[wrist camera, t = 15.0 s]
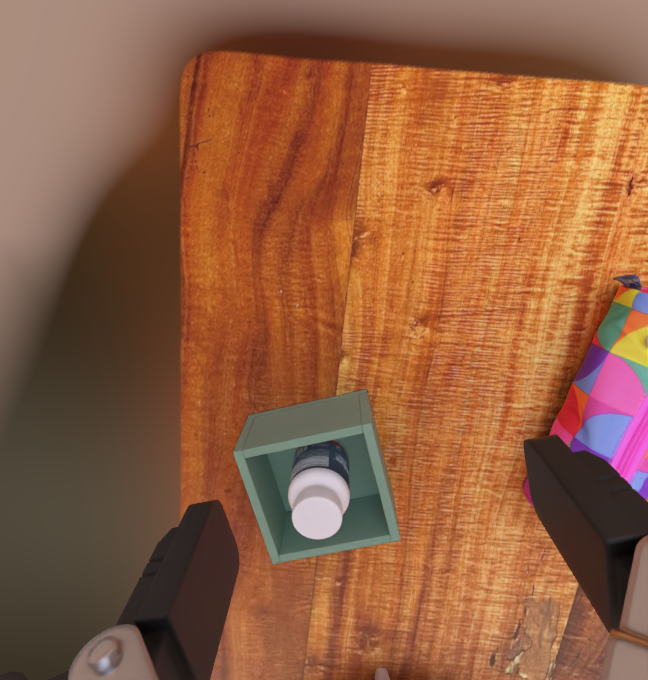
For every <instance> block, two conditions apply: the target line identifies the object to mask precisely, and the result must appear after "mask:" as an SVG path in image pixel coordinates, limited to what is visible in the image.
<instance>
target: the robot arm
mask: <svg viewBox="0 0 648 680" xmlns="http://www.w3.org/2000/svg"><path fill="white" fill-rule="evenodd" d="M524 453H525V460H526V468H527V475H528V483H529V490H530V496H531V500H532V503H533V506H534V509H535V511H536V513H537V515H538V517H539V519H540V521H541V522H542V524H543V526H544V527H545V529H546V531H547V532H548V534H549V536H550V537H551V539H552V540H553V542H554V544H555V545H556V547H557V549H558V550H559V552H560V553H561V555H562V557H563V558H564V560H565V562H566V563H567V565H568V567H569V568H570V570H571V571H572V573H573V575H574V576H575V578H576V580H577V581H578V583H579V584H580V586H581V588H582V589H583V591H584V593H585V594H586V596H587V598H588V599H589V601H590V602H591V604H592V606H593V607H594V609H595V611H596V612H597V614H598V616H599V617H600V619H601V620H602V622H603V624H604V625H605V627H606V629H607V630H608V632H609V633H610V635H609V638H608V642H607V647H606V651H605V656H604V660H603V665H602V669H601V674H600V678H599V680H648V502H647V501H646V500H645V499H644V498H643V497H642V496H641V495H640V494H639V493H638V492H637V491H636V490H635V489H632V486H631V485H630V484H629V483H628V482H627V481H626V480H625V479H624V478H623V477H621V476H620V474H619V473H618V472H617V471H616V470H615V469H614V468H613V467H612V466H611V465H610V464H609V463H608V462H607V461H606V460H605V459H602V458H600V457H598V456H596V455H594V454H592V453H590V452H588V451H586V450H582V451H577V452H572V450H571V449H570V448H569V447H568V446H567V445H566V444H565V443H564V442H563V440H562V439H561V438H560V437H559V436H558V435H556V434H554V435H548V436H543V437H538V438H533V439H528V440H525V441H524ZM149 561H150V563H148V564H147V566H146V568H145V570H144V571H143V573H142V574H143V576H142V577H141V578H140V579H139V581H138V584H137V585H136V587H135V589H134V591H133V593H132V595H131V597H130V599H129V601H128V603H127V605H126V607H125V609H124V610H123V613H122V614H121V616H120V618H119V621H118V622H117V624H116V626H114V627H111V628H109V629H107V630H105V631H103V632H102V633H100V634H99V635H97V636H96V637H94V638H93V639H92V640H91V641H90V642H88V643H87V645H85V646H84V647H83V649H82V650H81V651H80V652H79V654H78V655H77V656H76V658H75V659H74V661H73V663H72V665H71V668H70V670H69V671H67V672H64V673H62V674H60V675H58V676H56V677H53V678H51V679H49V680H210V677H211V674H212V670H213V666H214V662H215V658H216V655H217V651H218V647H219V643H220V639H221V635H222V632H223V628H224V624H225V620H226V616H227V613H228V609H229V605H230V601H231V597H232V594H233V590H234V586H235V582H236V578H237V575H238V570H239V552H238V547H237V544H236V541H235V538H234V536H233V533H232V530H231V528H230V525H229V522H228V519H227V517H226V514H225V511H224V509H223V506H222V504H221V502H220V501H219V500H213V501H208V502H203V503H197V504H192V505H190V506H189V507H188V508H187V510H186V512H185V514H184V516H183V518H182V520H181V522H180V524H179V527H176V528H172V529H171V530H170V531H169V532H168V533H167V534H166V535H165V536H164V537H163V539H162V540H161V541H160V542H159V543H158V544H157V546H156V548H155V550H154V552H153V554H152V556H151V558H150V560H149ZM0 680H27V679H26V677H25V675H23V674H22V673H20V672H9V673H6V674H2V675H0Z"/></svg>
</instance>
